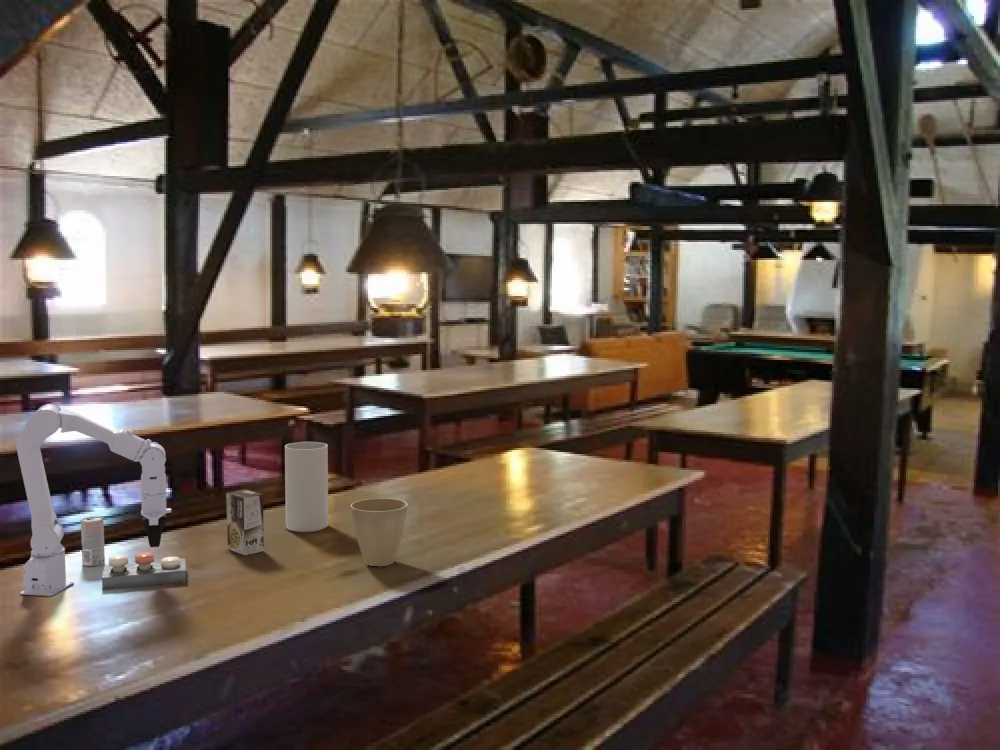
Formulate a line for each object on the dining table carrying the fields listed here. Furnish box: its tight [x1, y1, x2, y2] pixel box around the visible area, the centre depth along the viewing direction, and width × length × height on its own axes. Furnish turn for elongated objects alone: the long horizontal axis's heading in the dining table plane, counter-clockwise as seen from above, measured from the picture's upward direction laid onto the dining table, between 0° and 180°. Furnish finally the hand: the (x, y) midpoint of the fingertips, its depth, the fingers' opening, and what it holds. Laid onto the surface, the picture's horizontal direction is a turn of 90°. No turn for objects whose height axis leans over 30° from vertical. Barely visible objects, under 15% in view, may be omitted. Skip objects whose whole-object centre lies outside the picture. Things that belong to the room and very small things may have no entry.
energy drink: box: [80, 516, 106, 568], centre depth 239 cm, size 5×5×12 cm
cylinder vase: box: [284, 441, 329, 533], centre depth 276 cm, size 12×12×25 cm
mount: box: [101, 558, 187, 591], centre depth 228 cm, size 19×10×3 cm, turn 110°
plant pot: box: [350, 497, 409, 568], centre depth 243 cm, size 15×15×16 cm
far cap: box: [160, 556, 181, 568], centre depth 230 cm, size 4×4×4 cm
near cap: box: [108, 554, 129, 573], centre depth 226 cm, size 4×4×4 cm
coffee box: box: [225, 488, 265, 556], centre depth 252 cm, size 9×6×16 cm
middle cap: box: [134, 552, 155, 570], centre depth 228 cm, size 4×4×4 cm
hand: (154, 546), depth 228 cm, fingers closed
